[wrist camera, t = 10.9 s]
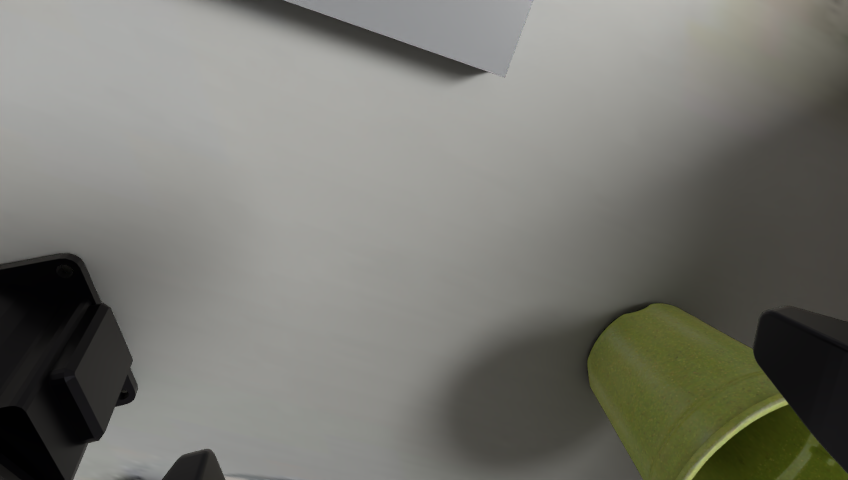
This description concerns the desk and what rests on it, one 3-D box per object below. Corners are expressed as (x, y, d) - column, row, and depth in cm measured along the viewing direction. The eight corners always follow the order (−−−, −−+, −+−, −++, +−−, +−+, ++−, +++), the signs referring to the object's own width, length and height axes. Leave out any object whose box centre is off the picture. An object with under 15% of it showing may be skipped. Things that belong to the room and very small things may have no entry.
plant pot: (751, 304, 28) (927, 420, 21) (648, 438, 31) (772, 586, 23) (626, 244, 25) (784, 358, 17) (521, 402, 27) (617, 563, 19)
